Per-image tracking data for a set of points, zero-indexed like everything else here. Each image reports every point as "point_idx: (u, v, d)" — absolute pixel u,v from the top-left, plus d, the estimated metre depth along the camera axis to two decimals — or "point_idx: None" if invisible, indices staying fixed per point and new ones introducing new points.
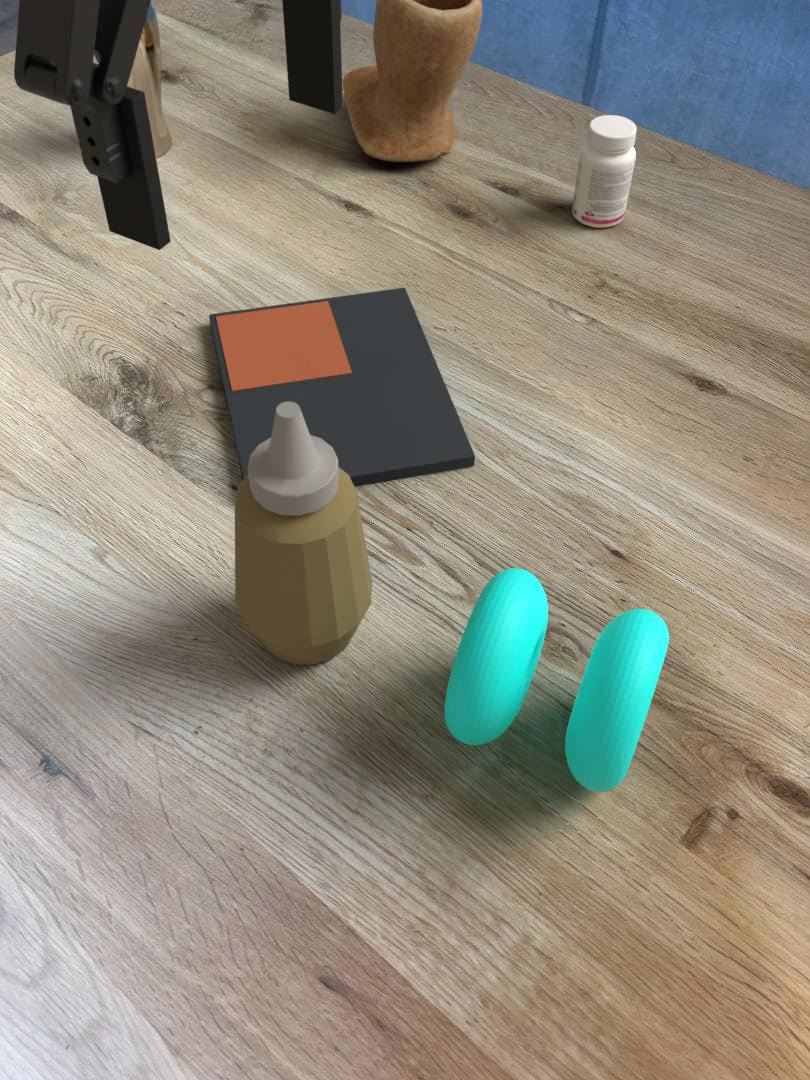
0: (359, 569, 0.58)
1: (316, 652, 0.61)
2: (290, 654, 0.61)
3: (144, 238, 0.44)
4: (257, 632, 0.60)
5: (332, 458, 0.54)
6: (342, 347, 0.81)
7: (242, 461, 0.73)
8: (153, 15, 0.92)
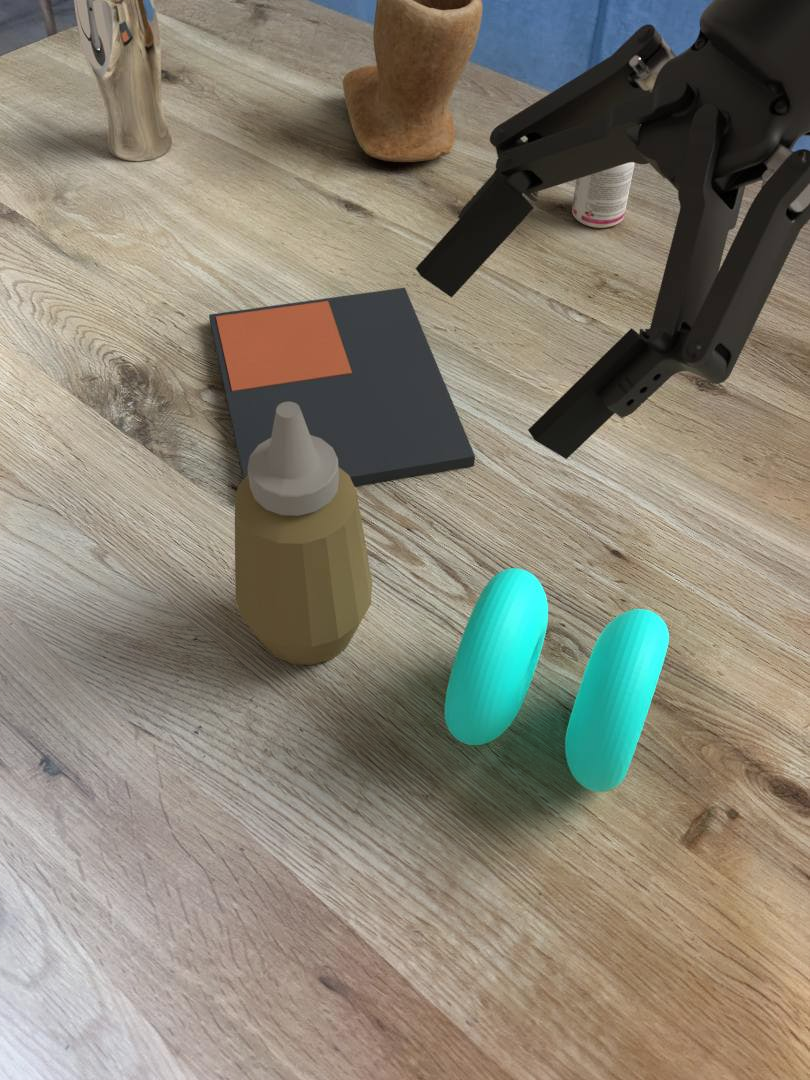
0: (359, 569, 0.58)
1: (316, 652, 0.61)
2: (290, 654, 0.61)
3: (562, 449, 0.50)
4: (257, 632, 0.60)
5: (332, 458, 0.54)
6: (342, 347, 0.81)
7: (242, 461, 0.73)
8: (153, 15, 0.92)
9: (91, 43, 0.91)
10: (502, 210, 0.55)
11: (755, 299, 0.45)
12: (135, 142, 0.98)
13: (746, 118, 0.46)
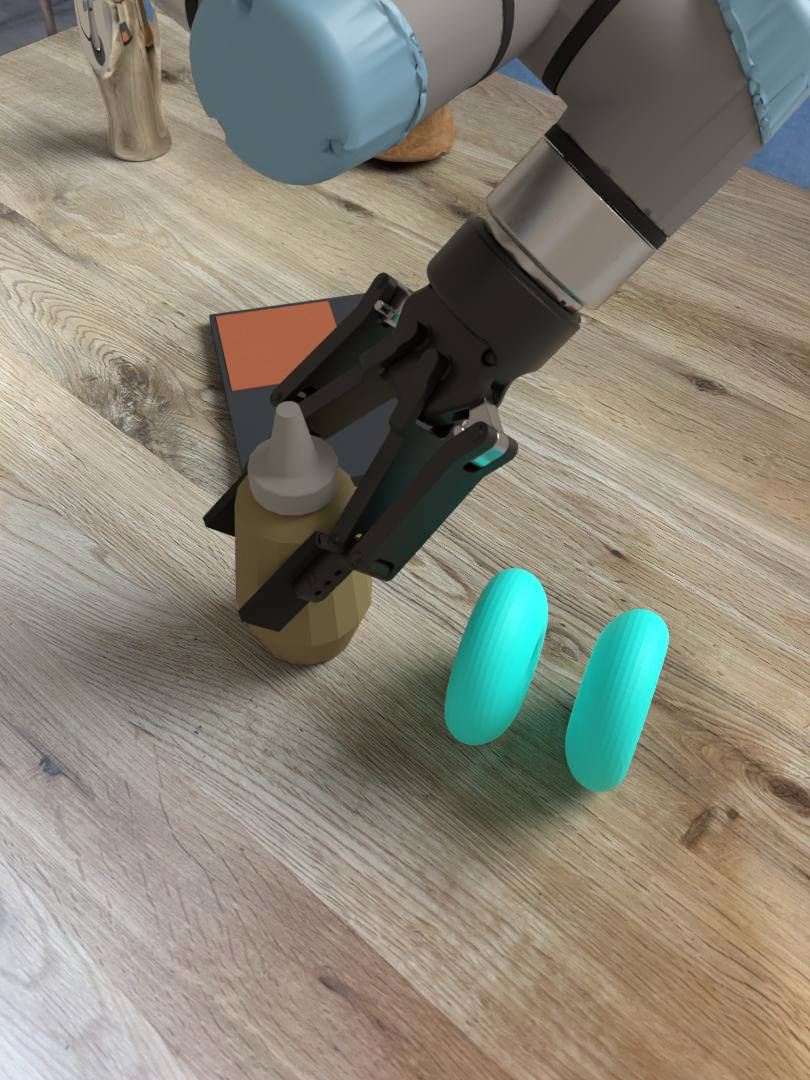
0: None
1: (316, 652, 0.61)
2: (290, 654, 0.61)
3: (272, 625, 0.57)
4: (257, 632, 0.60)
5: (332, 458, 0.54)
6: None
7: (242, 461, 0.73)
8: (153, 15, 0.92)
9: (91, 43, 0.91)
10: None
11: (423, 528, 0.51)
12: (135, 142, 0.98)
13: (463, 363, 0.50)
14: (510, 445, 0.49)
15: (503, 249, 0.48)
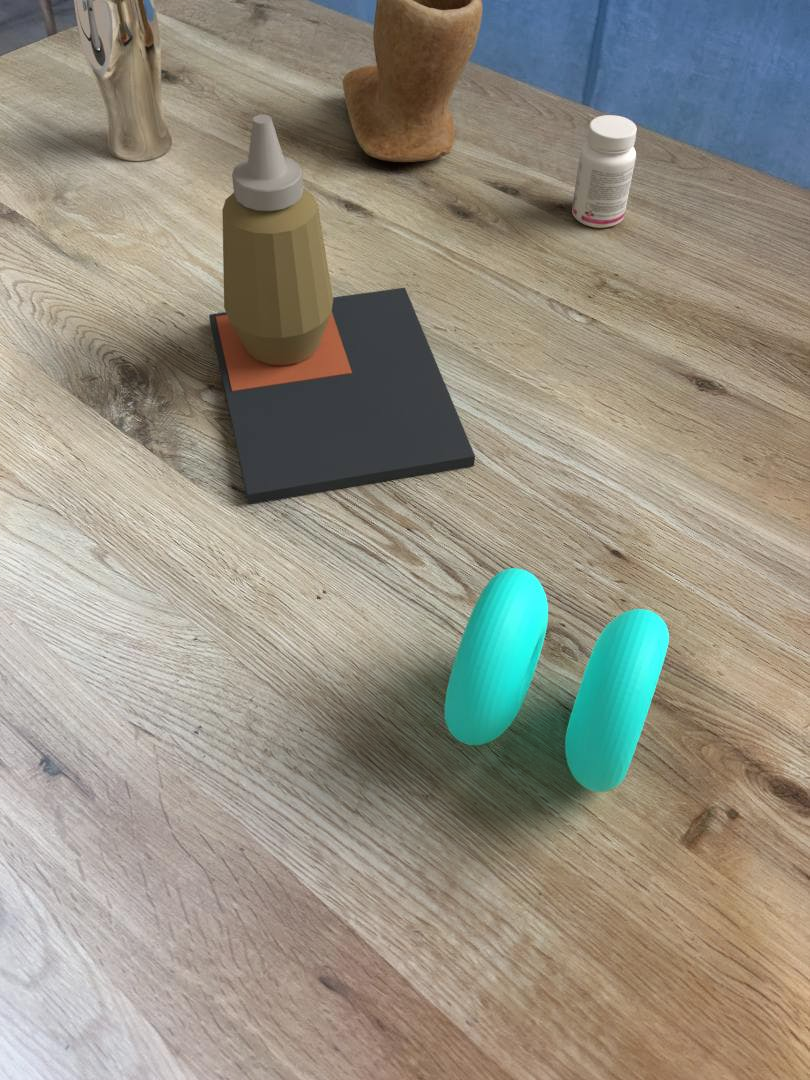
0: None
1: None
2: (325, 328, 0.79)
3: None
4: (318, 324, 0.76)
5: None
6: (342, 347, 0.81)
7: (242, 461, 0.73)
8: (153, 15, 0.92)
9: (91, 43, 0.91)
10: None
11: None
12: (135, 142, 0.98)
13: None
14: None
15: None
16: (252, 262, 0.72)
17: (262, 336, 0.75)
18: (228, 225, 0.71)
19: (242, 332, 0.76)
